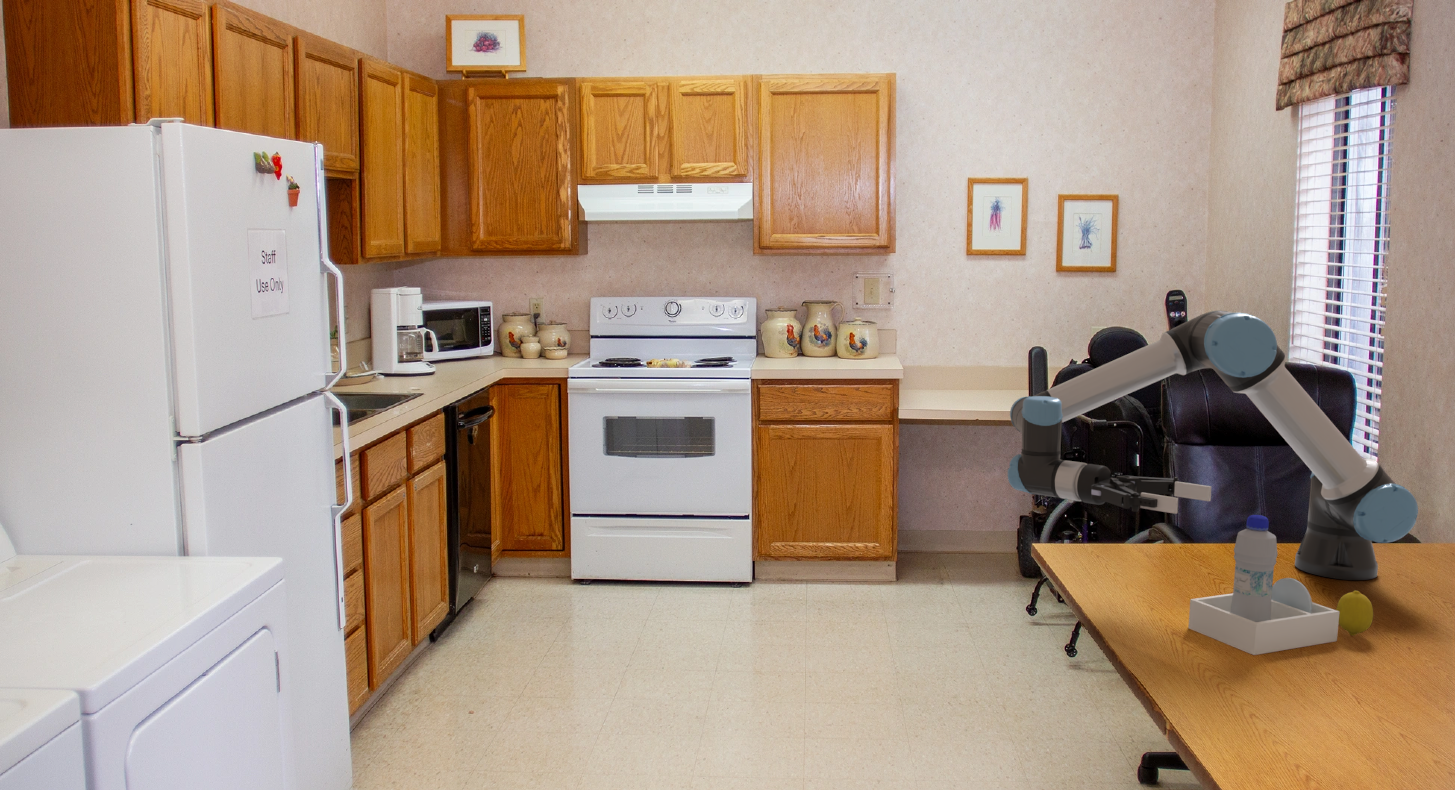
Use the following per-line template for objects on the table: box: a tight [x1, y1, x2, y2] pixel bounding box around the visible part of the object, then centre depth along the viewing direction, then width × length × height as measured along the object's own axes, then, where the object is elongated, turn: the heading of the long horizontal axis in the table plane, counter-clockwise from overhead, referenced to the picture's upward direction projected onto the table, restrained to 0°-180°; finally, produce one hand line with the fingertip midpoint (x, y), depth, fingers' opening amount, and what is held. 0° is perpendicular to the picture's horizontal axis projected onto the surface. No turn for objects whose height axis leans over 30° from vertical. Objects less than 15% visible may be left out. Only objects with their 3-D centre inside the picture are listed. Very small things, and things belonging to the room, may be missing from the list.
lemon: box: [1335, 590, 1374, 637], centre depth 192 cm, size 6×6×8 cm
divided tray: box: [1188, 577, 1340, 656], centre depth 192 cm, size 19×14×9 cm
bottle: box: [1230, 514, 1278, 622], centre depth 190 cm, size 7×7×20 cm
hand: (1194, 499), depth 200 cm, fingers open, 13 cm apart
